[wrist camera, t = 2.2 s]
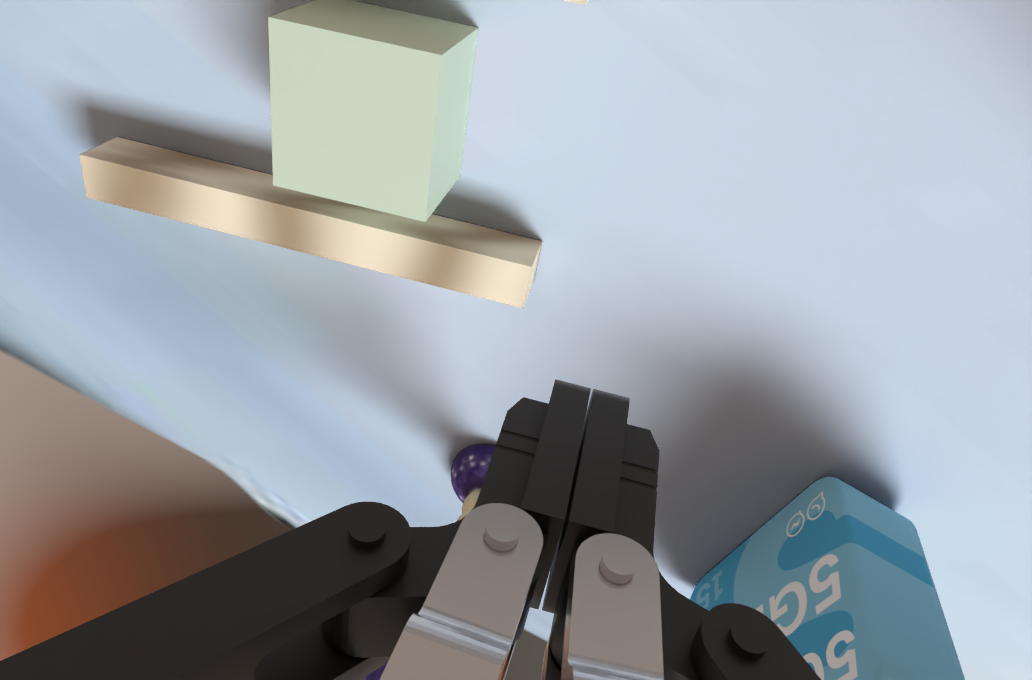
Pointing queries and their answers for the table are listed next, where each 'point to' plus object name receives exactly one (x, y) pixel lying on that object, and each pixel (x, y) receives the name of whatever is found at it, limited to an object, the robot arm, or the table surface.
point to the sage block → (369, 104)
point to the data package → (841, 587)
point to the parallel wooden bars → (312, 220)
